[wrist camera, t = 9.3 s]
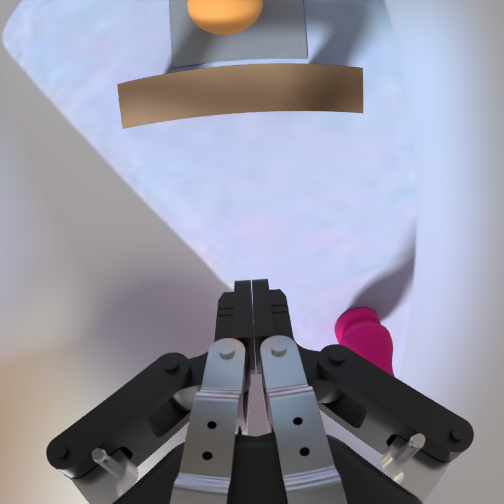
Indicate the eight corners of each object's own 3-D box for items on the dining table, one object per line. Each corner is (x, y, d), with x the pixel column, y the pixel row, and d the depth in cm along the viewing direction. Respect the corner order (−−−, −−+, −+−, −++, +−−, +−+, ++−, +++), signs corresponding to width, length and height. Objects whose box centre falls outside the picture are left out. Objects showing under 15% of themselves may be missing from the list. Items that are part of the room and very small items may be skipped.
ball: (191, -9, 18) (180, -34, 13) (257, -15, 18) (263, -42, 13) (194, 45, 21) (183, 28, 16) (262, 39, 21) (269, 21, 16)
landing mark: (169, -37, 16) (168, -38, 16) (297, -46, 16) (298, -47, 16) (173, 67, 22) (172, 67, 22) (306, 58, 22) (307, 58, 22)
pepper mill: (384, 300, 36) (445, 430, 19) (374, 338, 40) (418, 457, 23) (333, 306, 37) (378, 451, 19) (327, 344, 40) (359, 474, 23)
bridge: (158, 85, 23) (117, 84, 15) (323, 74, 23) (362, 67, 15) (161, 115, 25) (122, 128, 16) (324, 105, 24) (363, 113, 16)
